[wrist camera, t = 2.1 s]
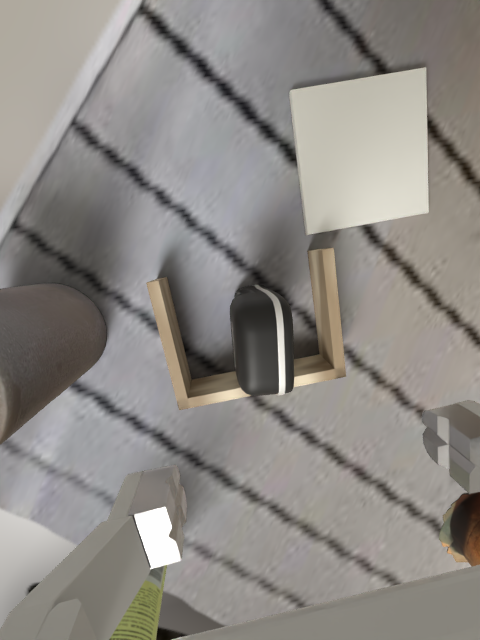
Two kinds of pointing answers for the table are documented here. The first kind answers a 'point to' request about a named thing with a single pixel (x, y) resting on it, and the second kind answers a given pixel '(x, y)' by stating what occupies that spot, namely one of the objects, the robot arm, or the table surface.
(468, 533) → the vessel
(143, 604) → the tube
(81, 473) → the table surface
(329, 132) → the mat
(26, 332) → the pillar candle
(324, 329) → the bay
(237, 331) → the battery charger
